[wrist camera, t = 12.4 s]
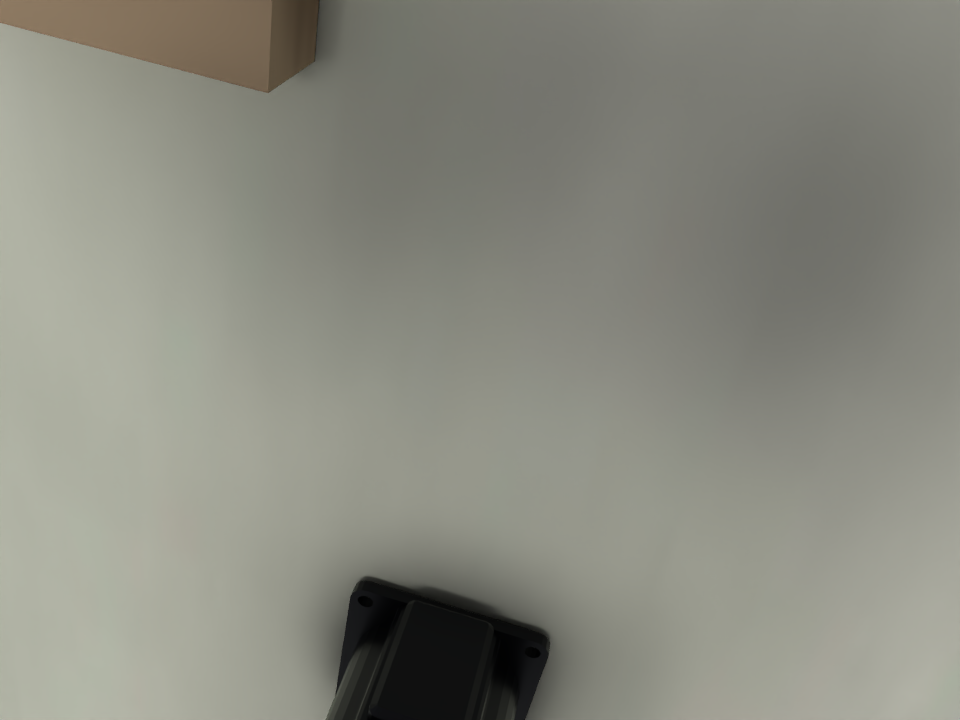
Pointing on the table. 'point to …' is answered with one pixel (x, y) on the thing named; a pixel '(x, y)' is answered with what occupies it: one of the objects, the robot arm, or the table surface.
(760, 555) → the table surface
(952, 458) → the table surface
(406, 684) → the robot arm
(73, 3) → the wooden tray
